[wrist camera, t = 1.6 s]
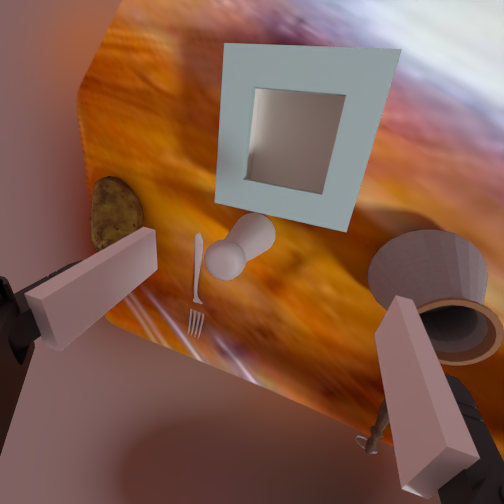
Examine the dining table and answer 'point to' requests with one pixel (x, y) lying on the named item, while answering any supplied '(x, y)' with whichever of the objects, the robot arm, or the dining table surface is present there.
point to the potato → (113, 212)
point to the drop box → (299, 128)
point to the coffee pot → (437, 298)
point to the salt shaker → (240, 246)
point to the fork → (197, 270)
